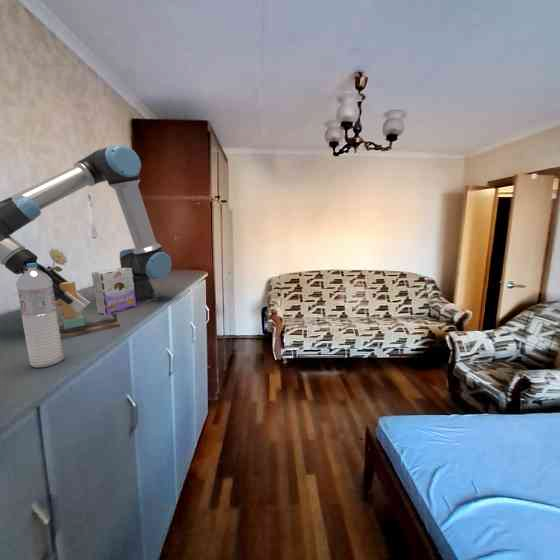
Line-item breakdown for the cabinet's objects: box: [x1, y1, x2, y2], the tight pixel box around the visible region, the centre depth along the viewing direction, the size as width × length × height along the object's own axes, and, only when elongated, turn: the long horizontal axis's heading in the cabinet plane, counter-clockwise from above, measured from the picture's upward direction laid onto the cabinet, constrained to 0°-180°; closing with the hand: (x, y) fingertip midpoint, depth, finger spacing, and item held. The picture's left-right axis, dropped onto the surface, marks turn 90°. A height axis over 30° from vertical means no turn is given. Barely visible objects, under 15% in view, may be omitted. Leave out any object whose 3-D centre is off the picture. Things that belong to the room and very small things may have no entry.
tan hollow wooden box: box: [54, 290, 84, 327], centre depth 108 cm, size 8×8×10 cm
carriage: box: [59, 281, 86, 329], centre depth 95 cm, size 5×7×14 cm
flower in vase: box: [48, 247, 68, 273], centre depth 125 cm, size 13×11×25 cm
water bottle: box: [15, 263, 65, 369], centre depth 74 cm, size 7×7×25 cm
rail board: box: [59, 312, 121, 340], centre depth 99 cm, size 18×7×4 cm, turn 132°
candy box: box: [91, 267, 137, 316], centre depth 122 cm, size 14×6×16 cm, turn 154°
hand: (84, 307), depth 96 cm, fingers closed on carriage, 3 cm apart
